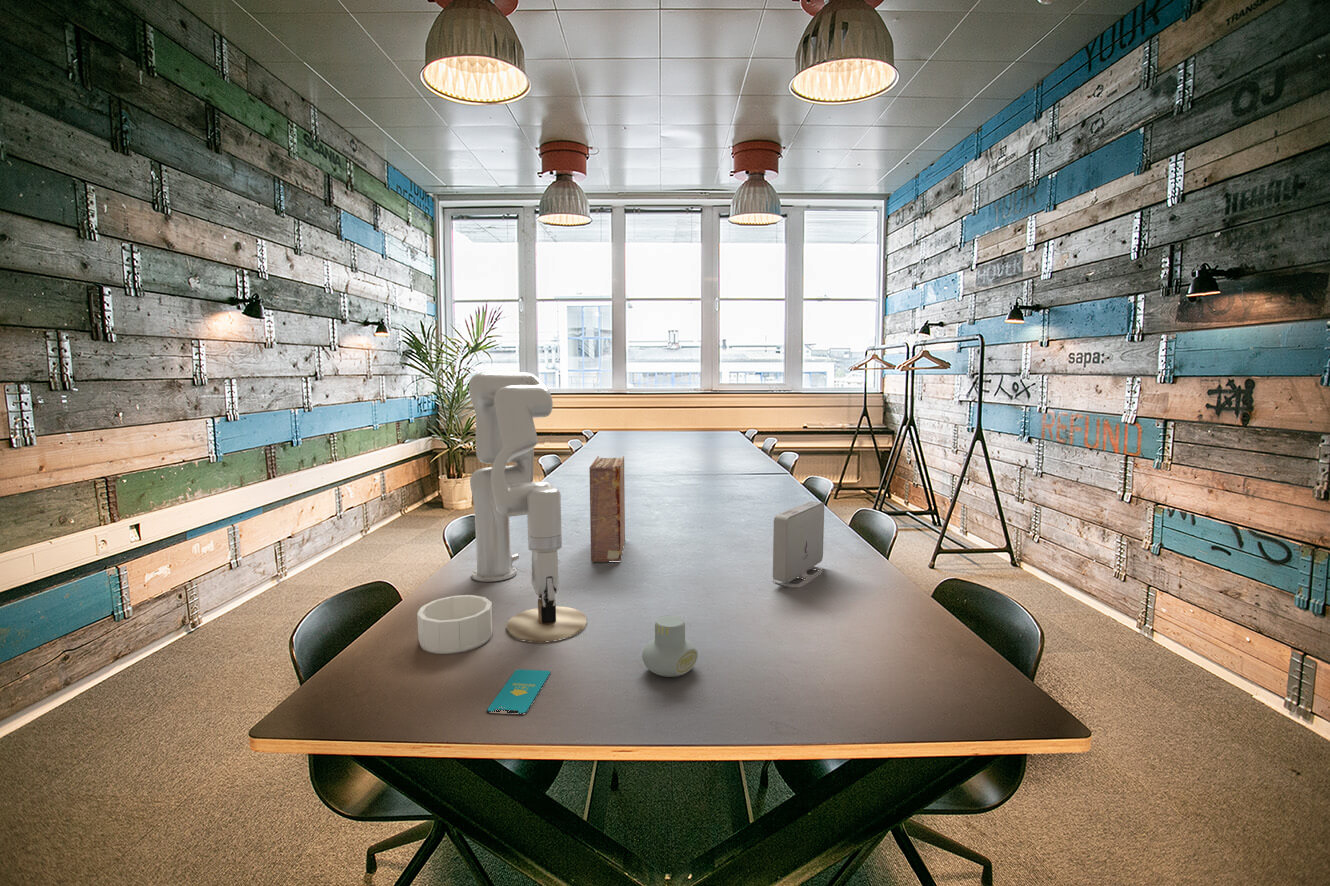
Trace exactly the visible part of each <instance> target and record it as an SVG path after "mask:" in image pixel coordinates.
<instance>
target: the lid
mask: <svg viewBox="0 0 1330 886" xmlns="http://www.w3.org/2000/svg"><path fill="white" fill-rule="evenodd" d="M546 598H547V597H545V599H546ZM538 599H539V600H538ZM538 599H537V607H535V608H531V609H527V610H524V611H521V612H519V613H518V614H517V613H516V614H515V615H514V616H512V617H511V618H510V619H509V620H508V621H507V625H506V629H507V631H506V632H507V633H508V635H509V634H510V635H511V636H510V635H509V636H510V637H511V638H513V637H514V638H513V639H515V638H517V639H520V640H519V641H521V640H525V641H532V642H531V643H533V642H545V643H547V642H546V641H554V640H559V639H563V638H567V637H570V636H572V637H574V636H573V635H575V634H577V633H578V634H580V633H581V632H582V631H584V630H585V628H586V627H585V626H587V616H586V615H585V613H583V612H582V611H581V610H578V609H576V608H573V607H568V606H557V605H556V604H557V603H556V599H555V605H556V622H553V623H546V624H543V623H542V617H541V606H543V605H542V598H538ZM580 631H581V632H580ZM579 632H580V633H579ZM578 634H577V635H578ZM575 636H576V635H575ZM570 638H571V637H570ZM517 639H516V640H517ZM567 639H568V638H567ZM525 641H524V642H525ZM559 641H560V640H559ZM554 642H555V641H554Z"/></svg>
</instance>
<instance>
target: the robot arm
mask: <svg viewBox="0 0 1330 886" xmlns="http://www.w3.org/2000/svg"><path fill="white" fill-rule="evenodd" d="M468 391H469V392H468V393H469V398H470V400H471V401H470V402H471V405H472V407H473V409H474V414H475V455H476V457H477V459H478V461H479V462H480V463H483V464H486V465H487V464H488V465H491V464H492V466H490V467H487V466H486V467H483V468H479V469H477V470H475V471H473V472H472V474H471V476H470V478H469V480H470V481H469V486H470V491H471V495H472V502H473V509H474V520H475V521H474V526H475V551H476V569H474V570H473V571H472V572H471V578H472V579H473V580H475V581H477V582H484V583H487V582H488V583H489V582H491V583H493V582H501V581H505V580H508V579H510V578H511V579H512V578H513V577H515V576H516V575H517V571H518V570H517V568H516V567H515V566H514V565H513V563H514V562H515V561H518V560H519V558H520V557H519V554H518V553H513V554H512V551H511V526H510V525H511V524H510V523H511V522H510V517H519V516H526V515H527V540H528V542H527V543H528V544H527V545H528V547H527V548H528V550H529V551H530V552H531V585H532V589H533V590H534V592H535V594H536V595H537V596H538V598H537V601H538V600H539V599H541V598H542V605H543V606H541V617H542V623H543V624H546V623H553V622H556V606H557V605H555V600H556V596H555V595H556V594H558V592H559V584H560V580H559V577H560V575H559V553H558V550H560V549H562V548H563V542H562V533H563V532H562V498H561V492H560V490H559V489H558V488H556V487H553V484H552V483H550V482H547V481H545V480H544V481H534V467H535V465H534V463H535V462H534V460H535V458H534V457H535V447H536V446H537V445H538V442H539V439H538V435H537V431H536V427H535V421H534V419H535V418H536V419H537V418H547V417H549V416H550V415H551V413H552V412H553V408H554V405H553V397H552V394H551V392H550V390H549V388H548V387H547V385H546V384H545V383H544V382H543V381H542V380H541V379H539V378H538V376H536V375H535V374H533V373H530V372H505V371H504V372H502V371H501V372H498V371H495V372H494V371H493V372H481V373H477V374H476V373H475V375H473V376H472V377H471V378H470V380H469V385H468ZM509 463H515V464H514V465H507V464H509ZM545 597H547V598H546V599H545Z"/></svg>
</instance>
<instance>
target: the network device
mask: <svg viewBox="0 0 1330 886" xmlns="http://www.w3.org/2000/svg"><path fill="white" fill-rule="evenodd" d="M824 526H825V503H824V502H822V501H816V500H815V501H814V500H810V501H807V502H804V503H803V504H802V503H801V504H800V505H797V506H795V507H792V508H790V509H788V510H785V511H783V512H780V513H778V514H775V516H774V518H773V540H772V541H773V544H772V545H773V547H772V582H773V583H774V582H775V583H777V584H776V585H778V584H781V585H780V586H782V585H785V586H784V587H787V586H790V587H789V588H793V587H798V588H801V587H800V586H802V587H804V586H805V585H806V583H807V582H808V583H810V582H811V581H812V580H811V579H813V578H814V579H815V577H816V576H817V575H819V574H820V573H823V569H822V568H820V567H817V566H816V565H819V564H820V563H821V562H822V561H823V558H824V538H825V537H824V529H825V527H824ZM810 568H812V569H816V570H819V571H816V570H815V573H813V574H808V573H807V572H808V571H809V570H812V569H810ZM820 575H821V574H820ZM820 575H819V576H820ZM796 577H799V578H803V579H805V580H803V579H802V581H800V582H799V583H797V584H796V583H792V582H791V581H793V580H795V579H797V578H796ZM817 577H818V576H817ZM817 577H816V578H817ZM799 578H798V579H799ZM814 579H813V580H814ZM810 580H811V581H810ZM809 581H810V582H809ZM790 582H791V583H790ZM775 583H774V584H775ZM808 583H807V584H808ZM804 584H805V585H804ZM803 585H804V586H803Z"/></svg>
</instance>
